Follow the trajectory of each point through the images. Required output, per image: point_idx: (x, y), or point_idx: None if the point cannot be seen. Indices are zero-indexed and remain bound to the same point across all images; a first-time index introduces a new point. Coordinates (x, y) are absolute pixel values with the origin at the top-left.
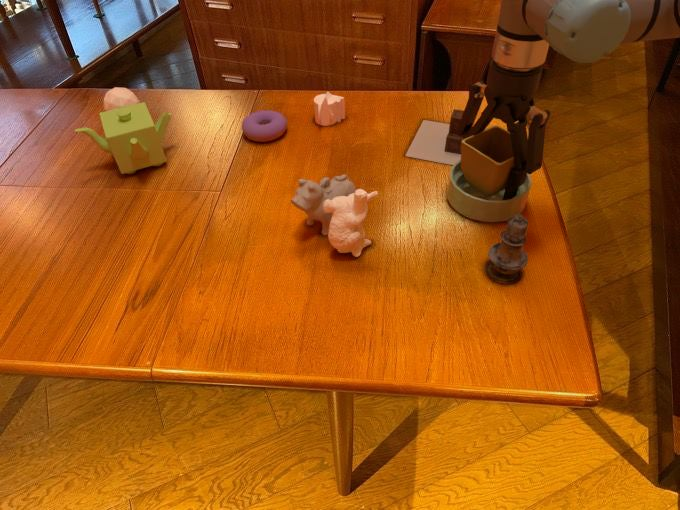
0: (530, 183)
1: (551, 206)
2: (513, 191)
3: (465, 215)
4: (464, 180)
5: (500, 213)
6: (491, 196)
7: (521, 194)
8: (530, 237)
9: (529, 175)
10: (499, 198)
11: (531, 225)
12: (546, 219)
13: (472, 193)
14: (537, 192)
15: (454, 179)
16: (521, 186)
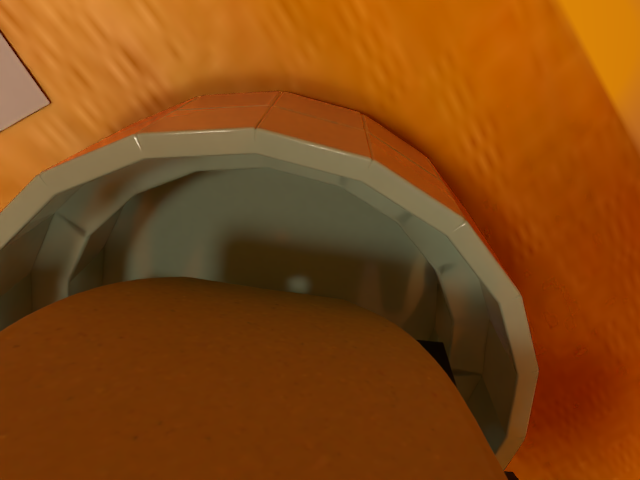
0: (512, 306)
1: (604, 105)
2: None
3: None
4: (99, 285)
5: None
6: (290, 290)
7: (456, 289)
8: (578, 373)
9: (462, 229)
10: (332, 278)
11: (555, 311)
12: (610, 229)
13: None
14: (472, 33)
15: None
16: (415, 219)
